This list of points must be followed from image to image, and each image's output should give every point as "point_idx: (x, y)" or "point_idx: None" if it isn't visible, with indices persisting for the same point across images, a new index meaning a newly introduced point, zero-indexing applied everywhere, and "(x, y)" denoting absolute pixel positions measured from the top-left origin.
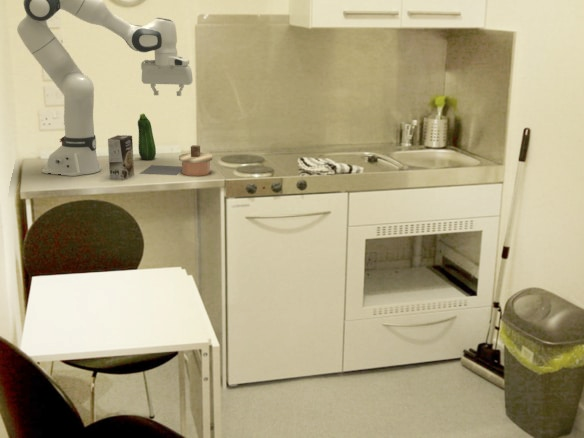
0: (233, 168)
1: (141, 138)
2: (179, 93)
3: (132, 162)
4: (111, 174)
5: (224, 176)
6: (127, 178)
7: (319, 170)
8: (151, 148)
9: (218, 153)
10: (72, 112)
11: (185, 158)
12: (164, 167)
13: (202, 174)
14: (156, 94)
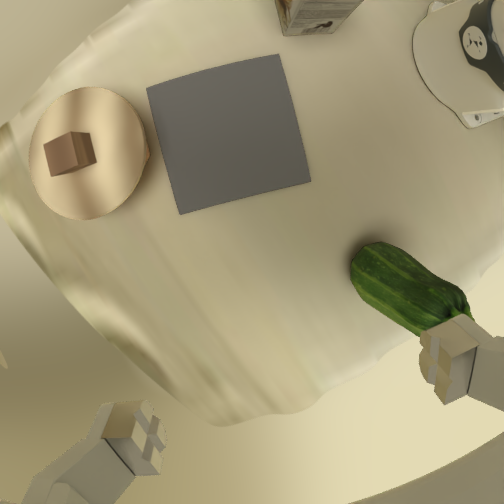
0: (59, 275)
1: (414, 263)
2: (99, 419)
3: (288, 8)
4: None
5: (28, 172)
6: None
7: None
8: (364, 266)
9: (212, 418)
10: None
11: (94, 96)
12: (247, 167)
13: None
14: (436, 327)
